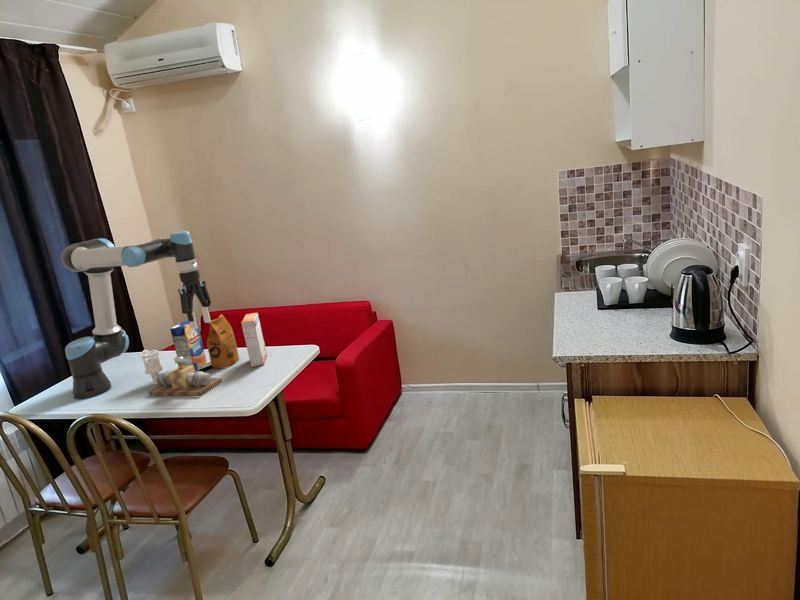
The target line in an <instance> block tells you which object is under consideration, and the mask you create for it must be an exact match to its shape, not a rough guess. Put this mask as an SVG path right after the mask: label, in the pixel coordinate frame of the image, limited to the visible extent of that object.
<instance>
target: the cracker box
mask: <svg viewBox="0 0 800 600" xmlns="http://www.w3.org/2000/svg"><path fill="white" fill-rule="evenodd" d="M260 322H261V321H260V318H259V313H258V312H252V313H246V314H245V315H244V317H243V319H242V321H241V322H240V323H241V329H242V333H243V336H244V341H245V345H246V348H247V349H246V350H247V354H248V358H249V362H250V366H251V368H255V367H259V366H260V367H261V366H264V365H265V362H266V359H267V356H268V352H267V349H266V343H265V340H264V336H263V332H262V331H263V330H262V326H261V323H260ZM254 366H255V367H254Z"/></svg>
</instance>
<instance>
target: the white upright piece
mask: <svg viewBox="0 0 800 600" xmlns="http://www.w3.org/2000/svg"><path fill="white" fill-rule="evenodd" d="M140 358H141V359H142V361H143V365H144V368H145V370H144V373H145V374H146V375H151V380H152V383H153V385H154V384H155V385H159V384H158V383H157V376H158V374H159V373H161V372H162V371H163V370H164V368H163V366H162V365H161V362H160V358H159V350H157V349H153V350H148V349H144V350H142V353H141V354H140Z"/></svg>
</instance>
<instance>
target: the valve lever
mask: <svg viewBox="0 0 800 600" xmlns="http://www.w3.org/2000/svg"><path fill="white" fill-rule="evenodd" d="M205 356H206V355H205ZM205 356H194V357H183V356H178V357H177V356H175V357H174V363H175V364H178V363H181V362H192V363H203V362H205V361H207V356H206V357H205Z"/></svg>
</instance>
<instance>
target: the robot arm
mask: <svg viewBox="0 0 800 600" xmlns="http://www.w3.org/2000/svg"><path fill="white" fill-rule="evenodd" d="M167 258H168V259H169V258H174V259H175V263H176V268H177V271H178V272H179V273H178V276H179V279H180V282H181V283H182V288H179V289H177V290H178V293H179V298H180V299H179V300H180V307H181V313H182V314H183V315H186V317H187V321H189V322H190V326H191V329H198V327H199V325H198V326H197V323H198V321H197V322H196V320H197V318H196V315H195V314H196V313H195V312H193V311H194V310H193V308H194V307H193V306H194V305H193V304H194V297H195V296H196V297H197V299H198V301H199V303H200V305H201V306H202V307H200V309H201V313H202V317H203V322H204V324H205V323H206V324H208V323H210V322H211V316H210V315H211V314H210V309H209V307H210V306H211V304H212V300H211V297H210V294H209V292H208V289H207V286H206V285H207V283H206V281H205V280H200V278H201V274H200V271H199V269H198V263H197V259H196V253H195V249H194V244H193V240H192V237H191V233H190V232H189V231H187V230H185V231H184V230H182V231H178V232H177V231H175V232H173V233H170V234H169V238H157V239H154V240H151V241H149V242H144V243H140V244H136V245H125V246H115V245H114V243H112V242H111V241H110V240H108V239H106V238H101V237H100V238H93V239H90V240H86V241H82V242H77V243H72V244H70V245H68V246H66V247H65V249H64V250H63V251H62V253H61V257H60V259H61V263H62V265H63V266H64V268H65V269H67V270H68V271H71V272H74V273H79V272H83V273H84V274H85V275H87V277H88V283H89V291H90V297H91V298H90V299H91V303H92V310H93V311H92V312H93V318H94V325H95V326H94V327H95V328H93V329H92V336H84V337H80V338H77V339H75V340H73V341H70V342H69V343H68V344H67V345H66V346H65V348H64V353H65V358H66V359H67V363H68V365H69V366H68V367H69V370H70V373H71V377H72V380H73V381H72V391H71V392H72V396H73V398H74V399H77V400H81V399H89V398H92V397H96V396H99V395H102V394H104V393H106V392H107V391H109V390H111V388H112V383H111V380H110V379H109V378H108V377H107V375H106V374H105V372H104V370H103V368H102V364H103V363H105V362H107V361H110V360H112V359H114V358H117V357H119V356H121V355H122V354H124V353H125V352H127V350H128V348H129V344H130V341H129V340H130V339H129V336H128V334H127V333H126V331H125V330H124V329H123V328H122V327H121V326H120V325H118V323H117V315H116V308H115V300H114V293H113V284H112V276H111V273H112V272H113V271H114V267H125V266H126V267H128V268H136V267H140V266H142V265H145V264H148V263H152V262H155V261H156V262H157V261H160V260H163V259H167Z"/></svg>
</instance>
